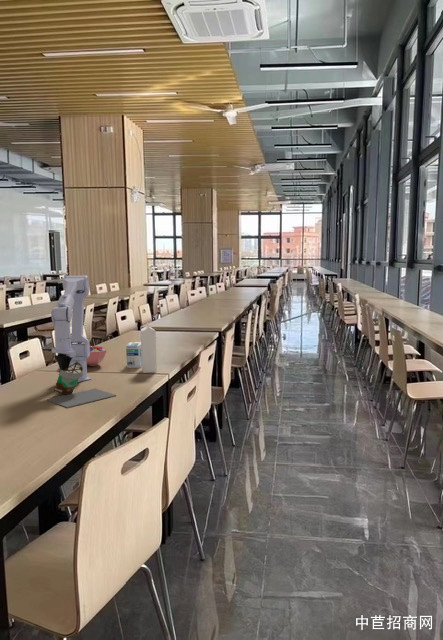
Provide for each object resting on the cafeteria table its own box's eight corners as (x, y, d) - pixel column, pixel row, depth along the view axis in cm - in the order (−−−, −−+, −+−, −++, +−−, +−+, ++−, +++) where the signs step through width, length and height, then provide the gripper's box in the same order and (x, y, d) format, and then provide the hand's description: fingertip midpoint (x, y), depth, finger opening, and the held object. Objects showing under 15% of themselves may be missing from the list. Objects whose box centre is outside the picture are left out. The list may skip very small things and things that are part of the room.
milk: (143, 373, 219) (141, 324, 216) (141, 370, 225) (140, 322, 222) (157, 372, 221) (155, 323, 218) (154, 369, 226) (153, 321, 224)
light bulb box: (140, 368, 229) (140, 345, 228) (126, 368, 229) (125, 345, 228) (144, 363, 240) (143, 341, 238) (130, 363, 240) (130, 341, 238)
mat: (47, 400, 177) (47, 399, 177) (95, 389, 192) (95, 388, 192) (67, 408, 168) (67, 407, 168) (116, 396, 182) (116, 394, 182)
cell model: (96, 371, 223) (95, 346, 222) (58, 368, 229) (56, 344, 228) (114, 363, 239) (113, 340, 238) (78, 361, 245) (77, 339, 244)
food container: (65, 400, 181) (74, 378, 178) (51, 392, 182) (60, 370, 179) (81, 388, 193) (90, 367, 190) (68, 381, 193) (76, 360, 190)
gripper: (43, 337, 187) (45, 372, 189) (62, 341, 178) (64, 378, 179) (60, 335, 192) (62, 369, 194) (80, 339, 183) (81, 374, 184)
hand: (64, 373), depth 187 cm, fingers closed
